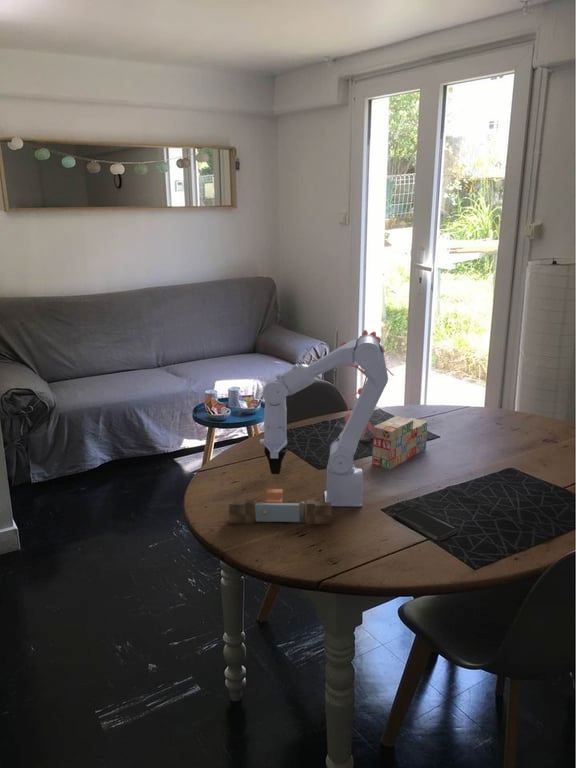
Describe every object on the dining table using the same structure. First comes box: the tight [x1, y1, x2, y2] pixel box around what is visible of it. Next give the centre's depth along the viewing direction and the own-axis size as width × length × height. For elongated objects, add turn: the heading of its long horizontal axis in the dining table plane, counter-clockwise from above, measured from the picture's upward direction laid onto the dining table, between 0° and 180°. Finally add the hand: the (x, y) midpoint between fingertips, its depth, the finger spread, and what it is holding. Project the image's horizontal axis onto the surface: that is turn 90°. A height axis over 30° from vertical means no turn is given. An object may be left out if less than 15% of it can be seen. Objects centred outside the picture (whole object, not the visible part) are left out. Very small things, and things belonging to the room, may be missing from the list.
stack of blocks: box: [371, 415, 428, 471], centre depth 193 cm, size 21×6×12 cm, turn 139°
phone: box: [392, 505, 459, 541], centre depth 155 cm, size 8×1×15 cm
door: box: [254, 501, 306, 523], centre depth 155 cm, size 12×2×5 cm, turn 89°
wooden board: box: [228, 498, 333, 525], centre depth 155 cm, size 25×2×6 cm, turn 89°
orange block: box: [265, 488, 284, 503], centre depth 160 cm, size 4×6×5 cm, turn 179°
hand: (275, 473), depth 167 cm, fingers closed
